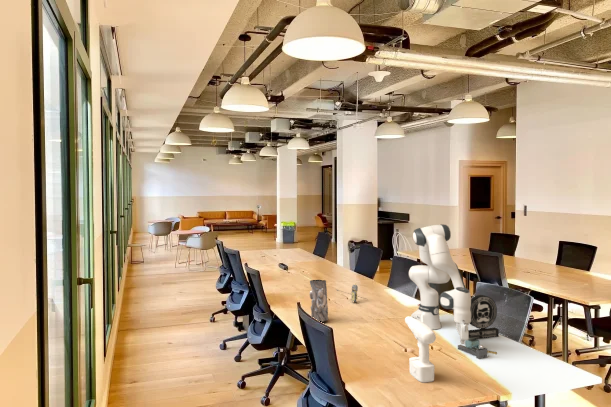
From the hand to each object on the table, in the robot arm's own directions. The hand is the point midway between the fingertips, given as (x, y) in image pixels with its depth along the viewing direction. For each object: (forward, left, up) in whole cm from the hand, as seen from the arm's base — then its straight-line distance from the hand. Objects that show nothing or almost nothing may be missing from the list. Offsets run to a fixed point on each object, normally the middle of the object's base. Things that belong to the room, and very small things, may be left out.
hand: (462, 343), depth 244 cm
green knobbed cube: (0, +8, -4) cm, 8 cm away
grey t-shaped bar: (+5, 0, -4) cm, 7 cm away
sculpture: (-86, -39, -4) cm, 95 cm away
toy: (-119, +11, -4) cm, 120 cm away
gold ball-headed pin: (+10, +10, -4) cm, 15 cm away
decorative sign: (-10, +26, -4) cm, 28 cm away
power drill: (+13, -43, -4) cm, 45 cm away
